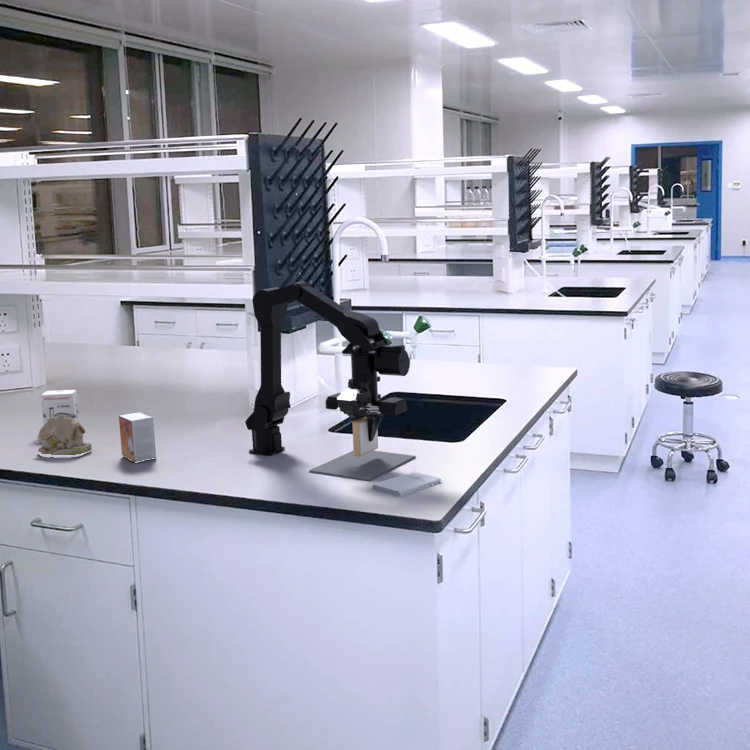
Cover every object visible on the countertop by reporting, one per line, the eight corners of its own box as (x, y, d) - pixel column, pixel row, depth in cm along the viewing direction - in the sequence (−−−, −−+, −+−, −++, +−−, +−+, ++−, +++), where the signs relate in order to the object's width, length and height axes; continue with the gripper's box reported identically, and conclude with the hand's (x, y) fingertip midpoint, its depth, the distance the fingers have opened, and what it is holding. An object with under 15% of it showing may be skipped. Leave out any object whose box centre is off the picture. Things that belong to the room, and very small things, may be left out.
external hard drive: (372, 491, 186) (413, 477, 195) (400, 499, 180) (441, 484, 189) (371, 483, 186) (412, 470, 194) (400, 491, 180) (441, 477, 188)
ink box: (44, 437, 242) (39, 394, 240) (48, 432, 247) (44, 390, 245) (76, 435, 243) (72, 392, 240) (80, 430, 247) (76, 389, 245)
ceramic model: (27, 457, 223) (23, 417, 221) (59, 445, 233) (55, 407, 231) (72, 461, 217) (68, 420, 215) (103, 449, 227) (99, 410, 226)
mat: (309, 472, 200) (309, 470, 200) (357, 450, 216) (357, 448, 216) (369, 481, 191) (369, 479, 191) (415, 457, 208) (415, 455, 208)
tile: (353, 456, 202) (352, 421, 200) (372, 447, 209) (371, 414, 207) (360, 457, 201) (359, 422, 199) (379, 448, 208) (377, 414, 206)
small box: (121, 457, 218) (117, 415, 216) (143, 453, 222) (139, 411, 220) (134, 464, 212) (130, 420, 210) (157, 459, 215) (153, 416, 213)
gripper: (309, 377, 200) (313, 444, 203) (380, 383, 190) (383, 454, 193) (337, 368, 209) (340, 433, 212) (407, 374, 199) (409, 441, 202)
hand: (366, 440), depth 205 cm, fingers closed on tile, 2 cm apart
